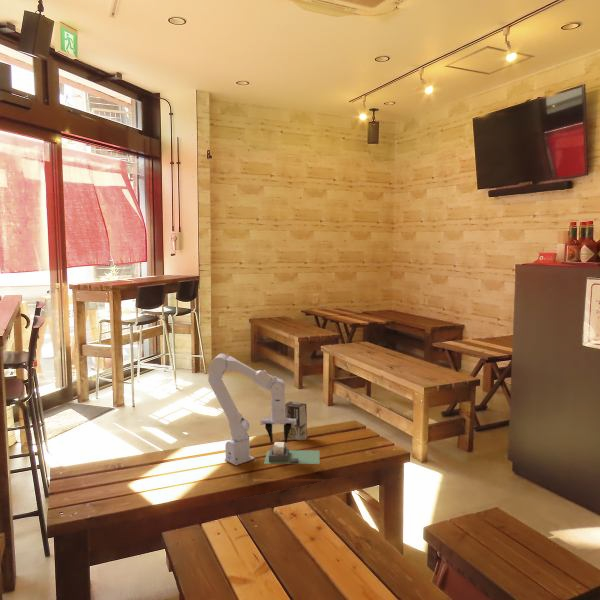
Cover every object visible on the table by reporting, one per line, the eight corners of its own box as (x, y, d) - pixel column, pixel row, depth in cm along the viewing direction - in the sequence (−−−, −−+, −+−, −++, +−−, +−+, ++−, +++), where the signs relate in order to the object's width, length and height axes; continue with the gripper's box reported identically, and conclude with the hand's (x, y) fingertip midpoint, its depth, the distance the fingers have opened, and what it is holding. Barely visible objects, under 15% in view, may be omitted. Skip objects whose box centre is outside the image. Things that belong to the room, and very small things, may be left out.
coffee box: (307, 438, 226) (307, 403, 225) (300, 442, 221) (299, 407, 220) (291, 434, 231) (290, 401, 230) (283, 439, 226) (282, 404, 225)
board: (263, 466, 196) (263, 457, 195) (267, 452, 210) (267, 444, 209) (319, 466, 195) (319, 457, 195) (319, 452, 209) (319, 444, 209)
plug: (275, 453, 206) (274, 441, 206) (284, 453, 206) (284, 442, 205) (273, 460, 199) (272, 448, 199) (283, 460, 199) (282, 448, 198)
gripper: (259, 411, 197) (259, 445, 198) (295, 411, 197) (296, 445, 198) (261, 406, 204) (262, 438, 205) (296, 406, 204) (296, 438, 205)
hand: (278, 441), depth 202 cm, fingers open, 5 cm apart
